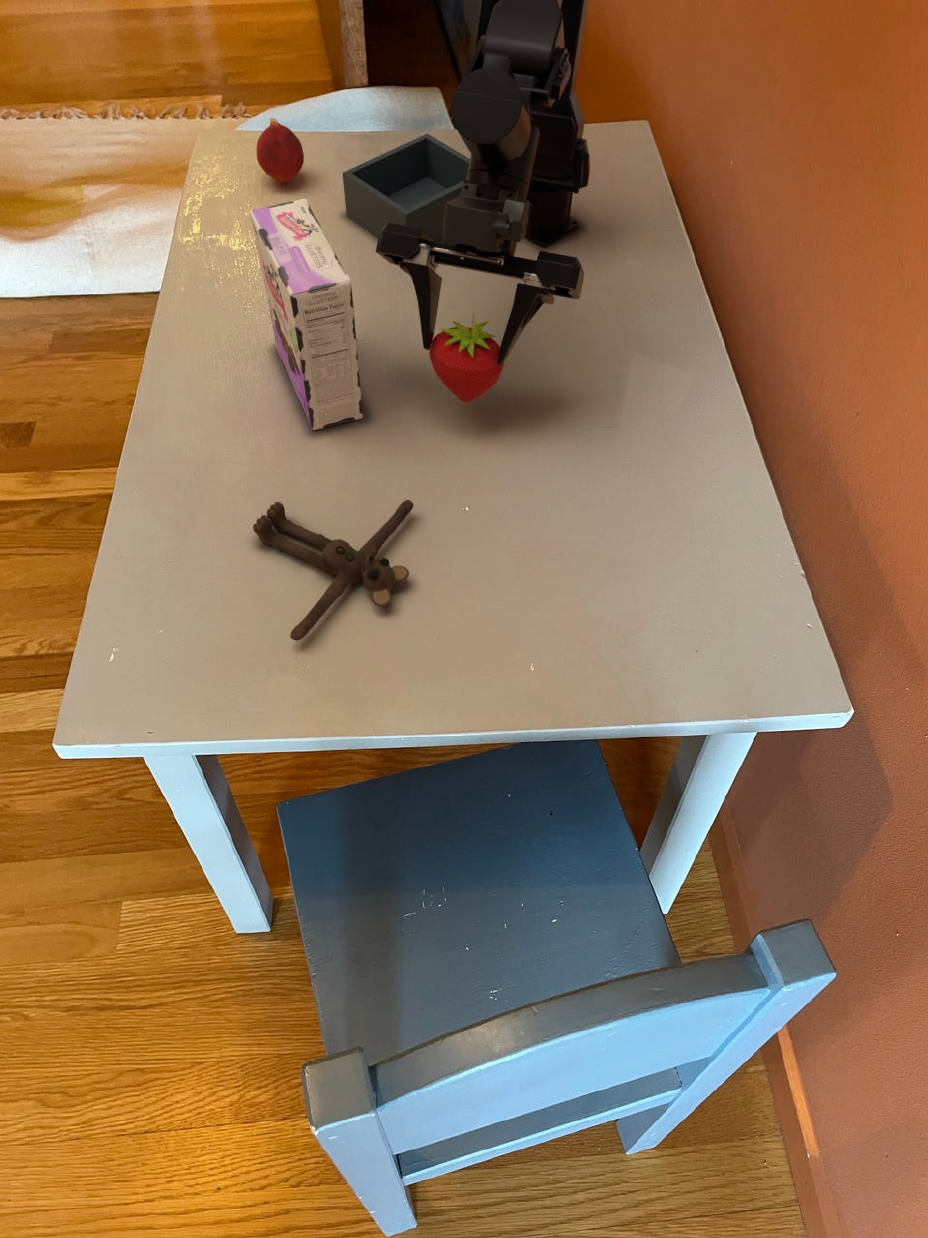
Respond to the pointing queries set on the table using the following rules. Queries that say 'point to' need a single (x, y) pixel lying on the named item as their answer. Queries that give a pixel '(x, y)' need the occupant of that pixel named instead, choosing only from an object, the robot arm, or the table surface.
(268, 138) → the onion
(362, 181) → the bin
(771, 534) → the table surface
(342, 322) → the candy box
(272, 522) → the bear figurine
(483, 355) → the strawberry
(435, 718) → the table surface
